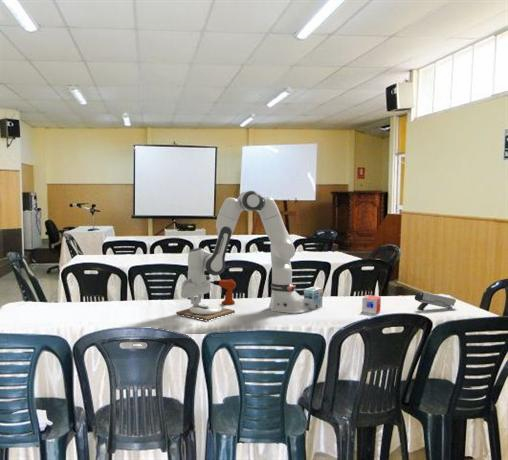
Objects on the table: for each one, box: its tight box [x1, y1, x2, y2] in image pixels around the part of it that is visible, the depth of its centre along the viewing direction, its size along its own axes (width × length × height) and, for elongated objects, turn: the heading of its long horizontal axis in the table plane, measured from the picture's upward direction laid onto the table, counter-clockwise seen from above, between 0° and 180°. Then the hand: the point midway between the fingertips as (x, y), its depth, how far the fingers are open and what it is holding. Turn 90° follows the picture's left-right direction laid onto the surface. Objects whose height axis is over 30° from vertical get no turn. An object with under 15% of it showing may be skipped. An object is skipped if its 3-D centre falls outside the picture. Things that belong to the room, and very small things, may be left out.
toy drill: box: [210, 278, 237, 306], centre depth 277 cm, size 5×19×15 cm, turn 100°
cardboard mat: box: [175, 304, 236, 322], centre depth 255 cm, size 22×22×2 cm
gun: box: [414, 291, 457, 311], centre depth 271 cm, size 2×25×10 cm, turn 101°
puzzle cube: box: [361, 294, 382, 314], centre depth 265 cm, size 8×8×8 cm
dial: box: [189, 296, 223, 315], centre depth 255 cm, size 17×17×6 cm
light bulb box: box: [303, 286, 324, 310], centre depth 272 cm, size 11×7×11 cm, turn 143°
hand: (196, 303), depth 259 cm, fingers closed on dial, 3 cm apart
